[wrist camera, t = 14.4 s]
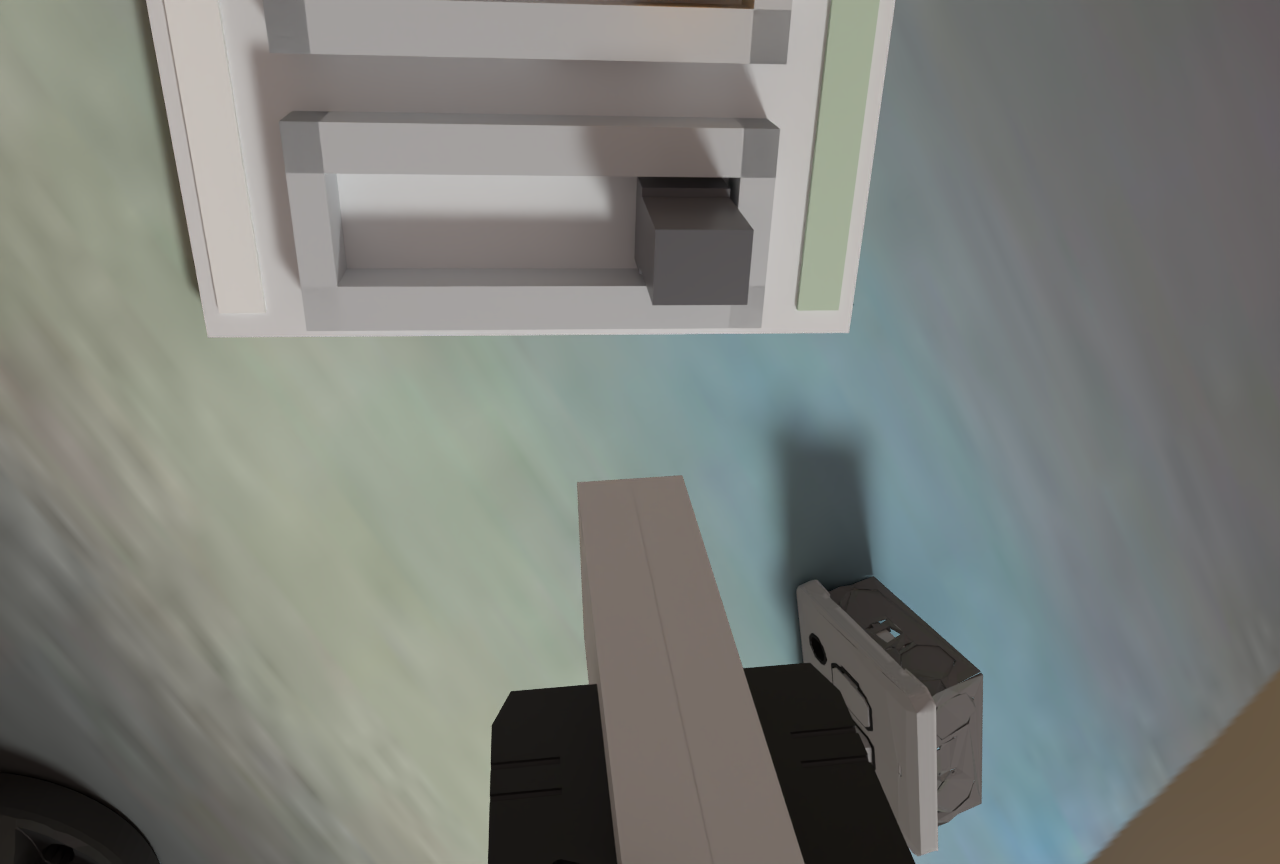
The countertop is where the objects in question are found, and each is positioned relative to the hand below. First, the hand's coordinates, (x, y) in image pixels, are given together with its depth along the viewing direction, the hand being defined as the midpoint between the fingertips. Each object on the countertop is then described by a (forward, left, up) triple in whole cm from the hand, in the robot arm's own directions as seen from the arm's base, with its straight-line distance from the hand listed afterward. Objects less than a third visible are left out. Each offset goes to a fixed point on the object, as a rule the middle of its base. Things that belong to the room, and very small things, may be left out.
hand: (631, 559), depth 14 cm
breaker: (+4, -1, -23) cm, 23 cm away
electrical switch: (+14, -22, -24) cm, 36 cm away
